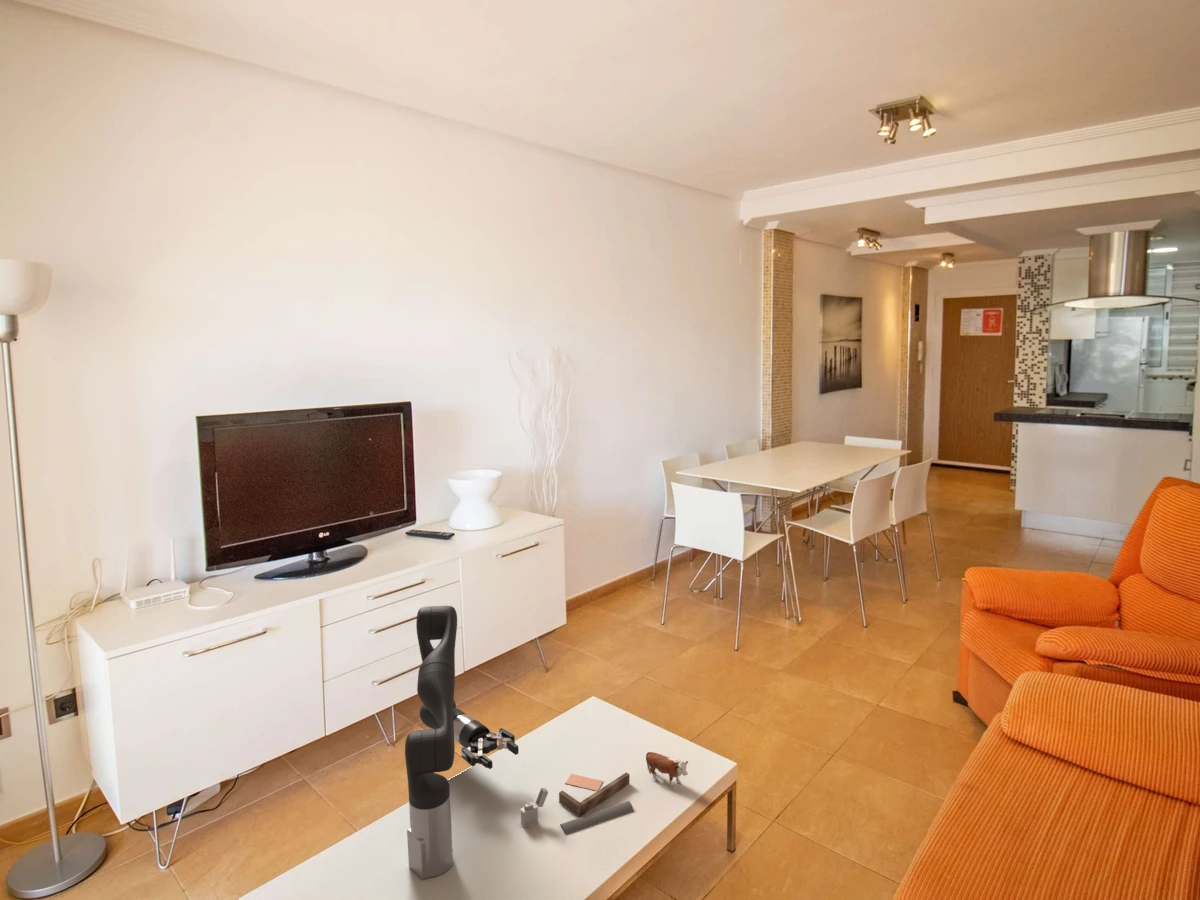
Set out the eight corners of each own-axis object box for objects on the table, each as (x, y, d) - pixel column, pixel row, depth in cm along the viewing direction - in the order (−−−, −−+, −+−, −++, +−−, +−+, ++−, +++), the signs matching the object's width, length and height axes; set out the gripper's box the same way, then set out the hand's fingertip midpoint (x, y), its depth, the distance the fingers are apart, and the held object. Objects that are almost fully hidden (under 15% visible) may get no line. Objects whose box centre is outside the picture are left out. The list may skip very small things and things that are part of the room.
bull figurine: (684, 795, 186) (685, 768, 184) (643, 776, 194) (643, 750, 192) (692, 787, 189) (693, 760, 188) (651, 768, 197) (651, 742, 196)
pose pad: (597, 791, 187) (597, 790, 187) (565, 783, 191) (565, 783, 190) (603, 781, 191) (603, 781, 191) (571, 774, 195) (571, 773, 195)
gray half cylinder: (634, 813, 179) (634, 807, 179) (565, 837, 171) (565, 831, 171) (626, 803, 183) (626, 797, 183) (559, 827, 175) (558, 820, 174)
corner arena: (579, 817, 177) (579, 806, 177) (559, 802, 183) (559, 792, 182) (629, 784, 190) (629, 774, 190) (608, 771, 196) (608, 761, 195)
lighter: (523, 828, 174) (522, 799, 172) (520, 823, 175) (519, 795, 174) (548, 818, 177) (548, 789, 176) (545, 814, 178) (545, 786, 177)
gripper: (447, 731, 189) (482, 757, 177) (489, 710, 198) (525, 734, 187) (448, 755, 190) (483, 783, 179) (490, 734, 200) (526, 759, 188)
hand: (504, 758), depth 183 cm, fingers open, 8 cm apart
